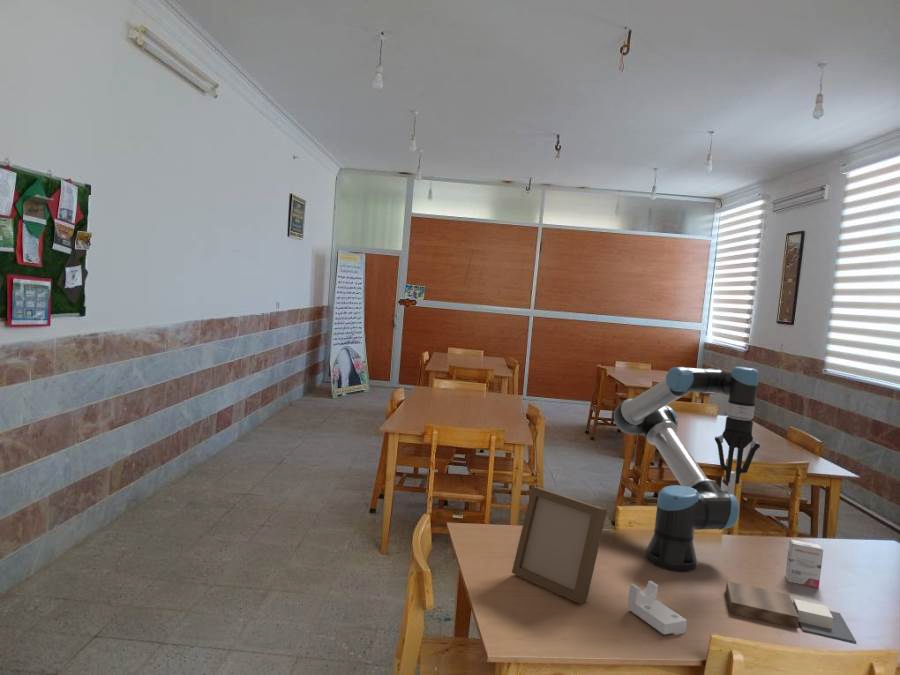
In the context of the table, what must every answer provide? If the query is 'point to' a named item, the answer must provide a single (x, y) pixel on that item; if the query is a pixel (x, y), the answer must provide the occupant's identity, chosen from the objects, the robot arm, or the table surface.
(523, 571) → the photo frame
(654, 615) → the bracket
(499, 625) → the table surface
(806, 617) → the cream rectangular block
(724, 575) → the table surface
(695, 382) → the robot arm
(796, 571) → the ink box
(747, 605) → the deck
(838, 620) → the mat
